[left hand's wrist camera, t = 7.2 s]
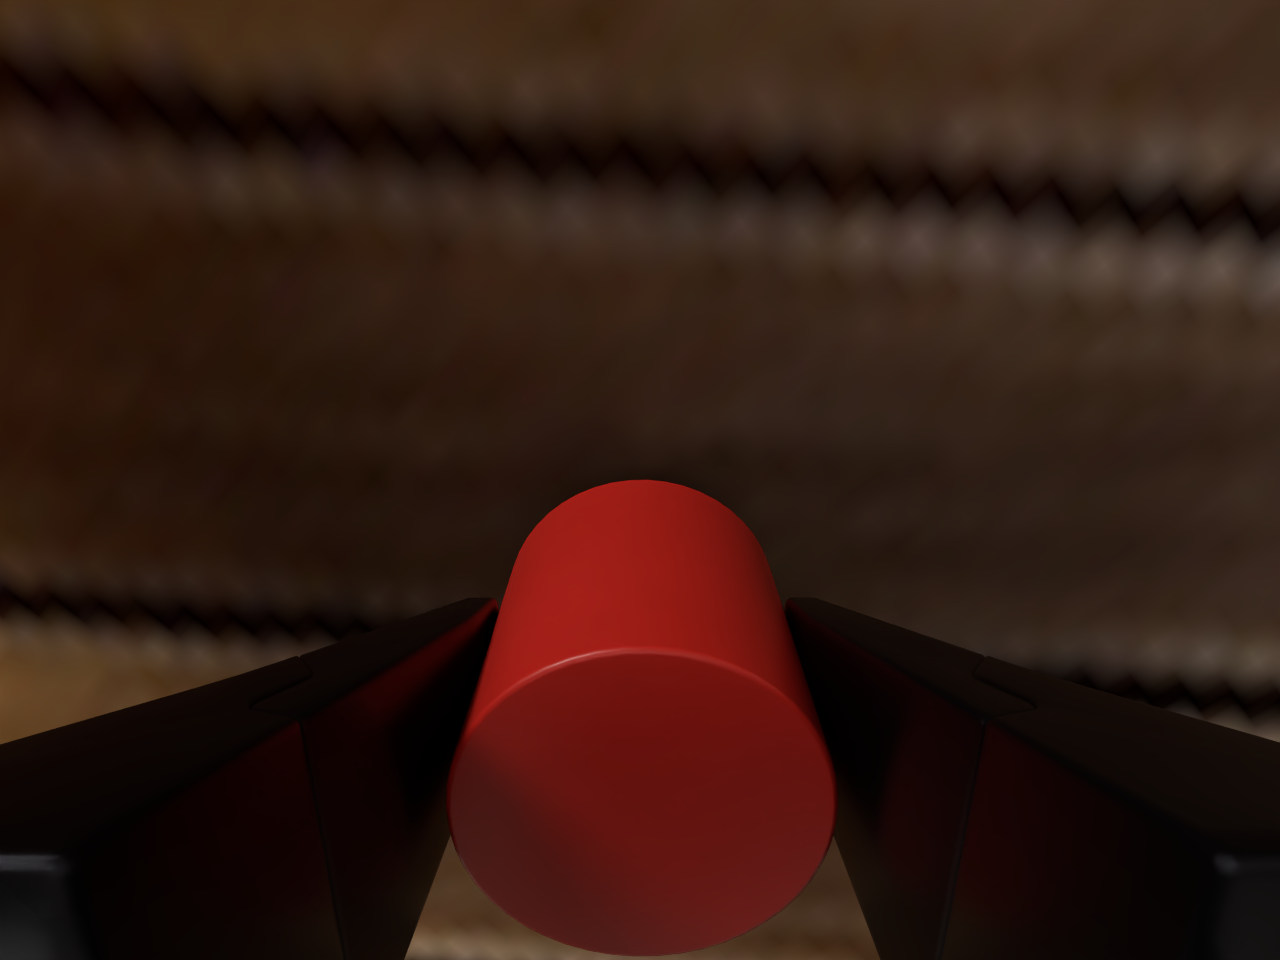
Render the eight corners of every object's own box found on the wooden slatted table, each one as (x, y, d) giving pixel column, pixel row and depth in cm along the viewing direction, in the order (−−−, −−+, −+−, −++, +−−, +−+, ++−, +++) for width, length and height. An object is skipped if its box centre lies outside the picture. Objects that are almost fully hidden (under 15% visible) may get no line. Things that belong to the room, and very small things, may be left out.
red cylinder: (611, 748, 13) (597, 1008, 9) (456, 570, 12) (361, 778, 8) (821, 628, 12) (910, 855, 8) (676, 425, 11) (698, 572, 7)
